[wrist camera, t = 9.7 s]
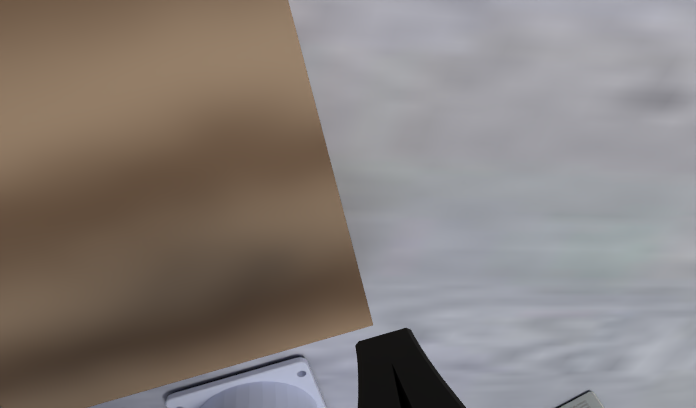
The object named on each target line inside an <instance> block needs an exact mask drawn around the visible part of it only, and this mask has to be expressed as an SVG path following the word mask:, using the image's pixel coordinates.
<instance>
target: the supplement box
mask: <svg viewBox="0 0 696 408" xmlns="http://www.w3.org/2000/svg"><path fill="white" fill-rule="evenodd" d="M560 408H604V406H603V405H602V404H601V402H600V401H599V399H598V398H597V397H596V395H595V394H594V393H593V392H588V393H586V394H584V395H582V396H580V397H578V398H577V399H575V400H573V401H571V402H569V403H567V404H565V405H563V406H561V407H560Z"/></svg>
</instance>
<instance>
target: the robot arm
mask: <svg viewBox="0 0 696 408" xmlns="http://www.w3.org/2000/svg"><path fill="white" fill-rule="evenodd" d="M355 347H356V353H357V362H358V408H466V407H465V406H464V405H463V403H462V402H461V401H460V400H459V398H458V397H457V396H456V395H455V393H454V392H453V391H452V390H451V388H450V387H449V386H448V385H447V383H446V382H445V381H444V380H443V378H442V377H441V376H440V374H439V373H438V372H437V370H436V369H435V367H434V366H433V365H432V363H431V362H430V360H429V359H428V357H427V356H426V354H425V353H424V351H423V350H422V348H421V347H420V345H419V343H418V342H417V340H416V338H415V337H414V335H413V333H412V331H411V330H410V329H408V328H404V329H400V330H397V331H393V332H390V333H386V334H383V335H379V336H376V337H372V338H369V339H366V340H362V341H359V342H358V343H357V344H356V345H355ZM166 407H167V408H327V407H326V404H325V402H324V400H323V397H322V395H321V392H320V390H319V388H318V385H317V383H316V380H315V378H314V376H313V373H312V371H311V368H310V366H309V364H308V361H307V360H306V359H305V358H302V357H298V358H294V359H290V360H287V361H283V362H280V363H276V364H273V365H269V366H266V367H262V368H259V369H255V370H252V371H249V372H245V373H242V374H238V375H235V376H231V377H228V378H224V379H221V380H217V381H214V382H210V383H207V384H204V385H200V386H197V387H193V388H190V389H186V390H183V391H179V392H176V393H173V394H170V395H169V396H168V397H167V399H166Z"/></svg>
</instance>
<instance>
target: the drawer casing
mask: <svg viewBox="0 0 696 408" xmlns="http://www.w3.org/2000/svg"><path fill="white" fill-rule="evenodd" d="M372 325H373V322H372V318H371V315H370V311H369V307H368V303H367V299H366V296H365V292H364V288H363V284H362V280H361V277H360V273H359V269H358V265H357V261H356V257H355V254H354V250H353V246H352V242H351V238H350V235H349V231H348V227H347V223H346V219H345V216H344V212H343V208H342V204H341V200H340V196H339V193H338V189H337V185H336V181H335V177H334V174H333V170H332V166H331V162H330V158H329V155H328V151H327V147H326V143H325V139H324V135H323V132H322V128H321V124H320V120H319V116H318V113H317V109H316V105H315V101H314V97H313V94H312V90H311V86H310V82H309V78H308V74H307V71H306V67H305V63H304V59H303V55H302V52H301V48H300V44H299V40H298V36H297V33H296V29H295V25H294V21H293V17H292V13H291V10H290V6H289V2H288V0H0V406H1V407H2V408H87V407H90V406H94V405H97V404H101V403H104V402H108V401H111V400H115V399H118V398H122V397H125V396H129V395H132V394H136V393H139V392H143V391H146V390H150V389H153V388H157V387H160V386H163V385H167V384H170V383H174V382H177V381H181V380H184V379H188V378H191V377H195V376H198V375H202V374H205V373H209V372H212V371H216V370H219V369H223V368H226V367H229V366H233V365H236V364H240V363H243V362H247V361H250V360H254V359H257V358H261V357H264V356H268V355H271V354H275V353H278V352H282V351H285V350H289V349H292V348H295V347H299V346H302V345H306V344H309V343H313V342H316V341H320V340H323V339H327V338H330V337H334V336H337V335H341V334H344V333H348V332H351V331H355V330H358V329H361V328H365V327H368V326H372Z"/></svg>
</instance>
